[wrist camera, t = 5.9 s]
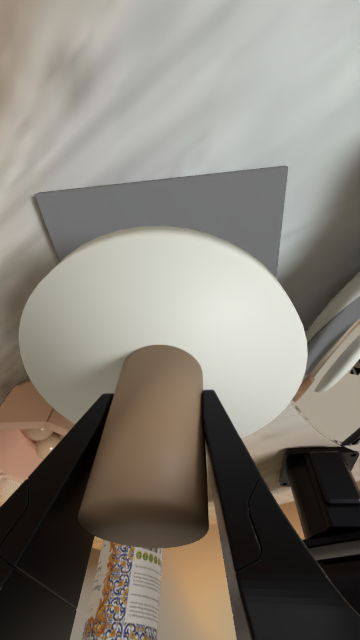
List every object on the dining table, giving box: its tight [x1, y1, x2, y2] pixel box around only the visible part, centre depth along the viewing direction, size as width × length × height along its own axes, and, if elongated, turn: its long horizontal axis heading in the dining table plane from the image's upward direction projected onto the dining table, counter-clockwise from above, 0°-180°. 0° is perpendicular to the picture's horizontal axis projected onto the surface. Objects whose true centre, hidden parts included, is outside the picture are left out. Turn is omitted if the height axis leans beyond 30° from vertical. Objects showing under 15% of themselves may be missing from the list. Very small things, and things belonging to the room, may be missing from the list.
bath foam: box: [82, 540, 163, 640], centre depth 27 cm, size 7×7×20 cm
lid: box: [19, 226, 308, 548], centre depth 9 cm, size 11×11×6 cm
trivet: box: [34, 166, 288, 277], centre depth 16 cm, size 12×12×1 cm
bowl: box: [0, 380, 75, 483], centre depth 23 cm, size 10×10×4 cm
